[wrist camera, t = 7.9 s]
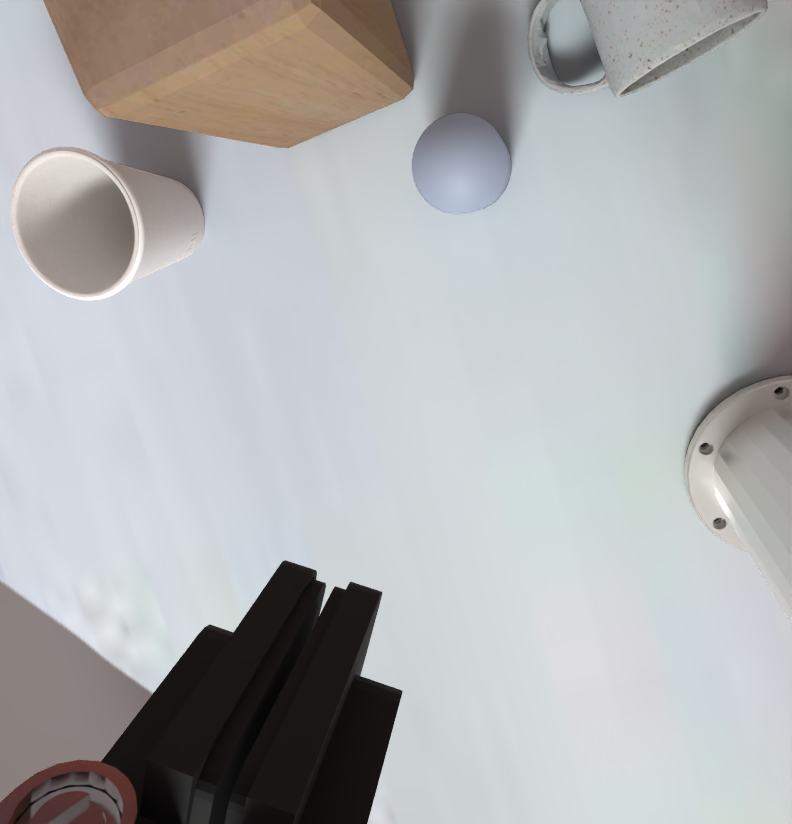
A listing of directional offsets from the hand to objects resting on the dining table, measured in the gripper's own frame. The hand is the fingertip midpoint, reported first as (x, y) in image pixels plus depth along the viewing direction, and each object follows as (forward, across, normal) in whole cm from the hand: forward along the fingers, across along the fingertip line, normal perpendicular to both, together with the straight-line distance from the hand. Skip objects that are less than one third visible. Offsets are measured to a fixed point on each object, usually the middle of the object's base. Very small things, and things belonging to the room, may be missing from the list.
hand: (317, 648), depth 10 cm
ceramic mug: (+35, -4, -18) cm, 40 cm away
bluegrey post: (+35, +3, -8) cm, 36 cm away
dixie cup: (+35, +23, 0) cm, 42 cm away
